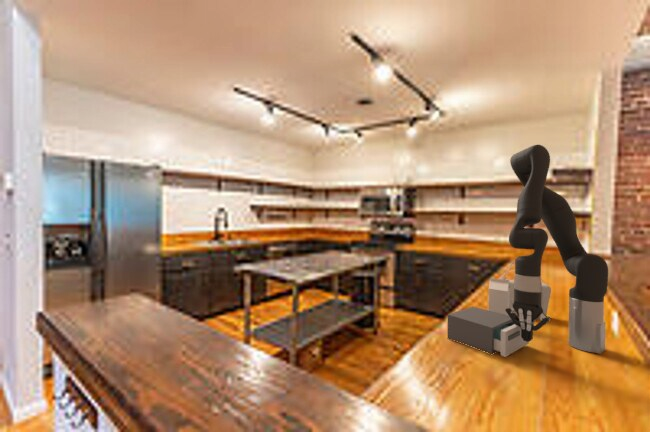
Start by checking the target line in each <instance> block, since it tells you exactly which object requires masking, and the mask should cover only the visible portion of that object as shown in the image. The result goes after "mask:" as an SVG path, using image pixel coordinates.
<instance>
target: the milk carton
mask: <svg viewBox="0 0 650 432" xmlns="http://www.w3.org/2000/svg"><path fill="white" fill-rule="evenodd" d="M509 280H510V279H506V280H503V279H502V278H500V279H499V278H493V277H490V278H489V283H488V284H489V285H488V309H487V310H488V311H492V312H496V313H500V314H504V315H508V314H507V312H506V311H505V310H506V309H507V308H509V302H510V287H509ZM508 316H509V315H508Z"/></svg>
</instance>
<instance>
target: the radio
mask: <svg viewBox="0 0 650 432" xmlns="http://www.w3.org/2000/svg"><path fill="white" fill-rule="evenodd" d="M513 264H515V261H511V262H510V265H509V267H508V268H507V269H506V271H505V272H504V273H503V274H502V275H501V276H500V277H499V278H498V279H503V280H507V278H506V277H505V276H506V275H507V274H508V273H511V272H515V269H513V270H510V269H511V267H512V266H513ZM509 270H510V271H509ZM508 280H509V287H510V302H509V308H510V307H512V305H513V303H514V279H512V280H511V279H508ZM541 282H542V297H541V307H542V309H543V313H544V314H545V315H546V316H547V313H548V308H549V303H550V298H551V294H552V287H551V286H550V285H549V284H547V283H545V281H544V280H543V279H542V278H541ZM515 314H516V315H517V316H518V314H517V313H516V311H515ZM518 317H519V316H518ZM540 318H541V316H539V317H538V318H537V320H540Z"/></svg>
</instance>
